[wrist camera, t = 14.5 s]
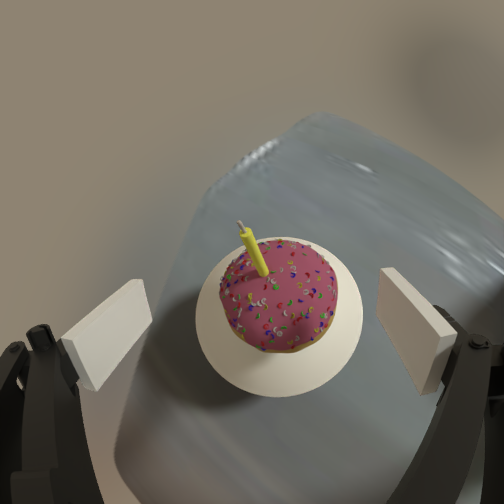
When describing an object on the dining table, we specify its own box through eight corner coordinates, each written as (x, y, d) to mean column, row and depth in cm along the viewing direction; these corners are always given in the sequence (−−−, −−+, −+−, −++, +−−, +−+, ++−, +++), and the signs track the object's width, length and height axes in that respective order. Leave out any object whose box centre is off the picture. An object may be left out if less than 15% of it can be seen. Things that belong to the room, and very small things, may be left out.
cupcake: (214, 325, 23) (153, 267, 13) (266, 251, 26) (249, 156, 16) (298, 377, 20) (308, 368, 10) (346, 293, 23) (387, 213, 13)
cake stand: (292, 249, 35) (292, 212, 28) (370, 338, 28) (394, 321, 21) (194, 316, 32) (168, 294, 25) (265, 419, 25) (257, 430, 18)
